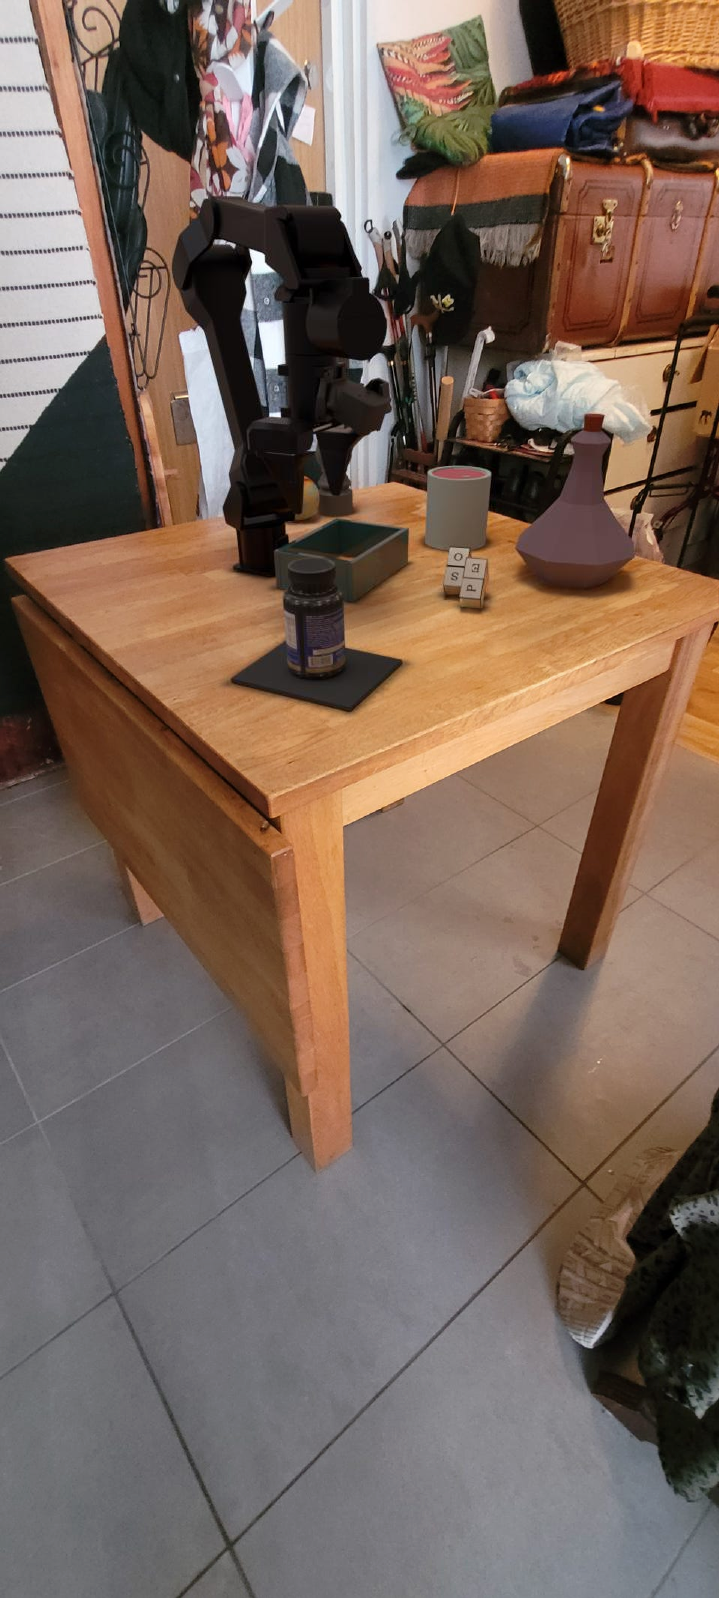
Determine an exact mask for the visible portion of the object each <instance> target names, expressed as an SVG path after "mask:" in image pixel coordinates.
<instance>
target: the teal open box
mask: <svg viewBox="0 0 719 1598" xmlns="http://www.w3.org/2000/svg"><path fill="white" fill-rule="evenodd" d="M409 533H410V528H409V527H403V526H396V525H389V524H381V523H375V522H366V521H360V520H351V519H345V518H334V519H332V520H330V521H329V522H326V523H325V524H323V525H321V526H318V527H317V528H315V529H313V530H311V531H309V532H308V533H305V534H304V535H301V536H300V537H298V538H296V539H294V540H292V541H289V543H288V544H286V545H284V546H282V547H280V548H278V549H277V550H275V551H274V558H275V572H276V574H275V582H276V583H275V585H276V589H280V590H284V591H285V590H286V589H287V588H288V587H289V586H291V581H290V580H289V578H288V565H289V563H291V562H292V561H295V560H298V559H303V558H325V559H329V560H331V561H333V562H334V563H335V566H336V578H335V579H334V584H335V585H337V586H338V587H339V588H340V589H341V591H342V592H343V597H344V602H345V601H346V602H351V603H355V602H356V601H357V600H358V599H360V598H361V597H363V596H364V595H366V594H367V593H368V592H370V591H371V590H372V589H374V588H375V587H377V586H378V585H379V584H381V583H383V582H384V581H385V580H388V578H390V577H391V576H393V575H394V574H395V573H397V572H399V570H401V569H403V568H404V567H405V566H406V565H408V564H409V540H410V539H409V536H410V534H409ZM338 556H345V557H352V559H351V560H348V559H341V558H337V557H338Z"/></svg>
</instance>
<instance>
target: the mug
mask: <svg viewBox="0 0 719 1598" xmlns="http://www.w3.org/2000/svg"><path fill="white" fill-rule="evenodd" d="M491 481H492V472H491V471H490V470H488V469H486V468H482V467H477V466H468V465H448V466H446V465H445V466H438V467H434V468H431V469H429V470H428V471H427V481H426V506H425V507H426V508H425V512H426V513H425V533H424V543H425V545H427V546H429V547H430V548H433V549H436V550H442V551H447V552H449V549H450V546H453V547H467V548H471V551H473V550H474V551H475V550H477V549H481V548H482V547H484V546H485V545H486V541H487V529H488V517H489V507H490V496H491V494H490V493H491V492H490V491H491V484H492V483H491Z"/></svg>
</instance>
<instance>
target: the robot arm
mask: <svg viewBox="0 0 719 1598" xmlns="http://www.w3.org/2000/svg"><path fill="white" fill-rule="evenodd" d="M342 218H343V217H342V213H341V212H340V211H339V209H338V208H337V207H336V206H334V205H307V204H306V205H305V204H303V205H302V204H301V205H300V204H277V205H272V206H269V205H265V204H261V203H257V202H253V201H250V200H249V201H248V199H246V198H245V199H244V197H242V196H241V195H240V196H238V195H237V196H236V195H209V196H208V198H207V197H206V198H203V200H202V202H201V205H200V208H199V212H198V215H197V216H196V217H195V218H194V219H192V221H191V222H190V223H189V224H188V225H187V226H186V227H185V228H184V229H183V230H182V231H181V232H180V233H179V235H178V237H177V240H176V244H175V248H174V252H173V254H172V255H173V256H172V258H171V259H172V260H171V273H172V279H173V283H174V285H175V288H176V289H177V290H178V292H179V295H180V298H181V301H182V304H183V307H184V309H185V311H186V313H187V314H189V316H190V318H192V320H193V321H194V322H195V323H196V325H198V326H199V327H200V329H201V330H202V331H203V333H204V336H205V339H206V340H205V341H206V344H207V348H208V352H209V356H210V360H211V363H212V367H213V371H214V376H215V380H216V384H217V388H218V390H219V395H220V398H221V402H222V406H223V410H224V414H225V418H226V422H227V426H228V429H229V434H230V437H231V442H232V445H233V450H234V452H233V456H232V459H231V462H230V467H229V471H228V480H229V485H230V487H229V489H228V492H227V495H226V497H225V500H224V502H223V505H222V513H223V518H224V521H225V524H226V525H227V526H230V527H231V528H233V529H235V531H236V533H235V534H236V543H237V553H238V562H237V563H236V564H234V565H232V569H233V571H238V572H245V573H249V574H256V575H261V576H267V577H272V576H274V575H276V572H275V558H274V551H275V550H277V549H278V548H280V547H282V546H284V545H286V544H288V543H290V536H289V534H288V533H287V529H286V527H287V526H286V523H289V522H290V523H292V522H295V521H296V520H295V515H296V514H298V515H300V514H301V513H302V509H303V496H304V476H305V467H306V465H307V464H308V462H309V461H310V460H311V459H312V458H313V457H314V455H315V454H316V451H313V450H311V449H312V446H313V443H314V439H315V438H316V443H317V442H318V446H319V449H320V454H321V458H322V462H323V466H324V470H325V474H326V478H327V481H328V485H329V488H330V491H331V494H332V495H333V496H339V495H341V491H342V488H343V484H344V480H345V476H346V474H347V472H348V468H349V465H350V463H349V460H350V457H351V454H352V455H353V451H354V448H355V446H356V445H357V444H358V443H360V442H361V440H363V439H364V438H365V437H366V436H369V435H371V433H373V432H380V431H381V429H382V426H383V423H384V420H385V417H386V415H388V414H390V413H391V412H392V411H393V407H392V405H391V403H392V400H393V399H392V398H391V391H390V383H389V382H388V381H387V380H384V379H382V378H381V377H375V378H372V379H370V380H369V381H368V382H367V384H366V385H365V383H363V382H359V383H357V382H354V381H353V380H350V378H349V368H348V367H347V366H346V363H343V362H338V357H339V358H346V359H349V360H353V361H358V362H365V361H368V360H370V359H372V358H374V357H375V356H377V354H378V353H379V352H380V351H381V349H382V347H383V345H384V343H385V341H386V337H387V333H388V318H387V317H386V313H385V309H384V307H383V305H382V303H381V302H380V300H379V299H378V298H377V297H376V296H375V295H374V294H373V293H371V292H370V291H371V290H370V289H371V288H370V287H371V286H370V281H371V280H370V278H369V277H367V276H364V275H363V272H362V271H363V266H362V264H361V263H360V261H359V259H358V257H357V254H356V253H355V249H354V245H353V244H352V240H351V238H350V235H349V231H348V229H347V226H346V225H345V222H343V221H342ZM215 241H224V242H227V243H215ZM228 243H229V244H228ZM230 243H231V244H233V245H234V247H233V246H232V245H231V244H230ZM250 250H252V251H255V252H258V253H261V254H262V255H264V263H265V264H266V266H268V267H269V268H270V269H271V270H273V271H274V272H275V273H276V274H278V275H279V276H280V278H281V280H282V282H281V283H280V285H278V287H277V288H276V289H275V292H274V293H273V299H274V301H275V302H281V309H282V324H283V325H282V326H283V342H284V343H283V345H284V363H281V364H277V376H279V377H285V381H286V398H287V399H286V400H287V405H284V406H281V407H280V408H279V410H280V416H268V417H266V416H265V413H264V410H263V405H262V401H261V397H260V393H259V389H258V385H257V382H256V377H255V373H254V372H255V371H254V368H253V364H252V361H251V356H250V352H249V349H248V344H247V340H246V336H245V333H244V329H243V323H242V319H241V317H242V313H243V310H244V306H245V303H246V298H247V294H248V291H247V286H246V284H247V283H246V281H247V279H248V276H249V273H250V271H251V268H252V265H253V260H252V256H251V253H250ZM314 435H315V438H314ZM348 464H349V465H348Z"/></svg>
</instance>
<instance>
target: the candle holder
mask: <svg viewBox="0 0 719 1598" xmlns="http://www.w3.org/2000/svg"><path fill="white" fill-rule="evenodd" d="M338 362H343V363H346V366H347V367H348V369H350V359H346V358H339V357H338ZM352 457H353V453H352V454H351V457H350V460H349V464H348V466H350V464H351V461H352ZM315 459H316V461H317V463H318V465H319V466H320V471H321V473H322V475H321V476H320V477H319V479H318V481H317V487H319V488H318V491H319V497H320V500H319V505H318V508H317V514H319V515H321V516H323V517H345V516H349V515H351V514H353V513H354V498H353V497H354V493H353V492H354V491H353V489H351V488H350V487H351V486H352V480H351V479H350V478H349V476H348V474H347V473H346V476H345V480H344V484H343V488H342V491H341V495H339V496H333V495H332V494H331V491H330V488H329V485H328V481H327V478H326V474H325V470H324V466H323V462H322V458H321V454H320V449H319V446H318V442H317V441H316V447H315Z"/></svg>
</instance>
